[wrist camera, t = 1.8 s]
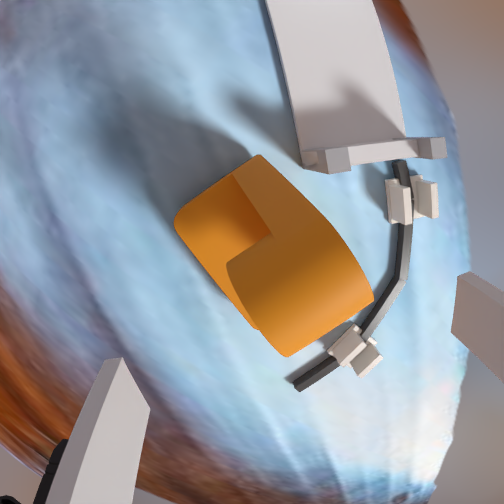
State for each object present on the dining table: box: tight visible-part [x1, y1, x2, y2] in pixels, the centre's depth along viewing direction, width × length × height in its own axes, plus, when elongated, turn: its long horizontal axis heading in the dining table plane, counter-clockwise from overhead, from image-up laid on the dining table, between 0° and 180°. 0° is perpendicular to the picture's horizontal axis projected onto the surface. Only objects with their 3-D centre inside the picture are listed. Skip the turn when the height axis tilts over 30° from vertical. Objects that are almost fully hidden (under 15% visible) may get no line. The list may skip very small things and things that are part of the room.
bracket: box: [174, 155, 374, 357], centre depth 18 cm, size 11×7×12 cm, turn 33°
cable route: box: [293, 160, 439, 392], centre depth 24 cm, size 6×23×3 cm, turn 160°
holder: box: [265, 0, 447, 174], centre depth 17 cm, size 9×17×6 cm, turn 11°
